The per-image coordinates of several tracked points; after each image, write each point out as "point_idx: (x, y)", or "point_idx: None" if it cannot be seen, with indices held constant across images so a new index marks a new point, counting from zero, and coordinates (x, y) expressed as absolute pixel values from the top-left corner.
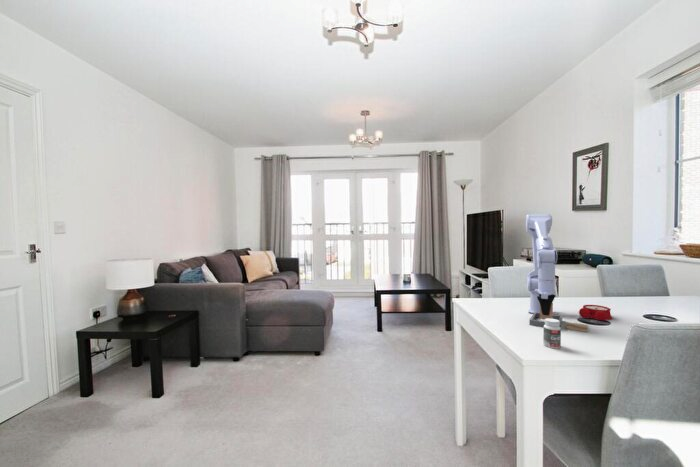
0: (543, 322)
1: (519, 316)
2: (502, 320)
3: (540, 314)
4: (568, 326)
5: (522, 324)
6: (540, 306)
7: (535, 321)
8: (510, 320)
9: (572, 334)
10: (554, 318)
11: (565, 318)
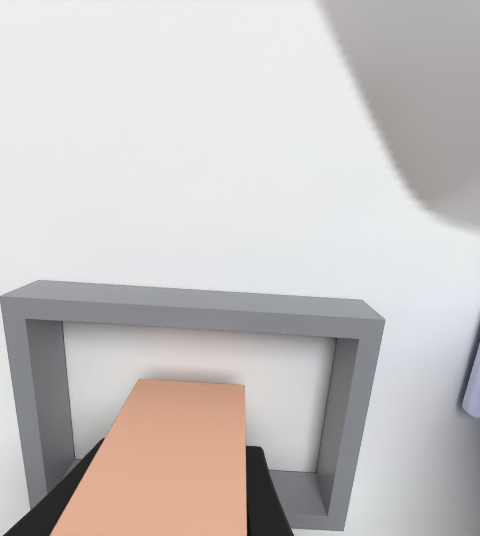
0: (21, 406)
1: (313, 167)
2: (26, 2)
3: (123, 413)
4: None
5: (16, 223)
6: (62, 520)
7: (14, 344)
8: (86, 94)
9: (2, 525)
10: (324, 455)
11: (421, 503)
